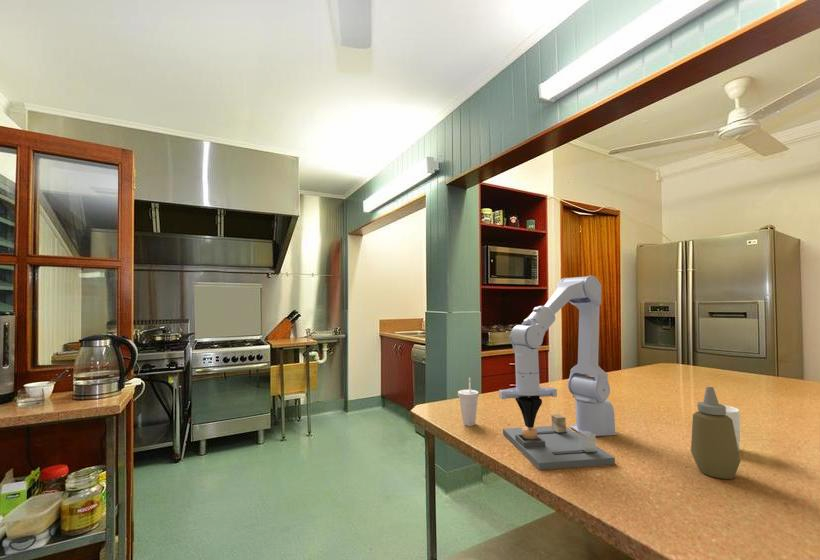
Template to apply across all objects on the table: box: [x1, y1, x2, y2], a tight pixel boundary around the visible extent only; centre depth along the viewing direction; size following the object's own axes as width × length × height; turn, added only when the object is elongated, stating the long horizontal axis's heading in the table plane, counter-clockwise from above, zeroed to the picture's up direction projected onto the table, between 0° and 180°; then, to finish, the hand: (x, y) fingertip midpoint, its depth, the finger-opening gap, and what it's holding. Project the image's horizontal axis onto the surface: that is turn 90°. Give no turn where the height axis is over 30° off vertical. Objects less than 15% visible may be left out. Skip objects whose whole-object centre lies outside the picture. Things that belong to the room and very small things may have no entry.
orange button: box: [521, 425, 537, 439], centre depth 91 cm, size 4×4×2 cm
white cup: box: [723, 404, 741, 452], centre depth 89 cm, size 8×8×10 cm
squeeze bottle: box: [690, 386, 741, 480], centre depth 77 cm, size 8×8×18 cm
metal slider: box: [577, 430, 597, 452], centre depth 85 cm, size 2×3×4 cm
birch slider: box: [551, 413, 567, 432], centre depth 98 cm, size 2×3×4 cm
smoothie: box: [457, 377, 480, 427], centre depth 111 cm, size 6×6×14 cm
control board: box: [502, 425, 616, 471], centre depth 91 cm, size 18×22×3 cm
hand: (529, 426), depth 91 cm, fingers closed
